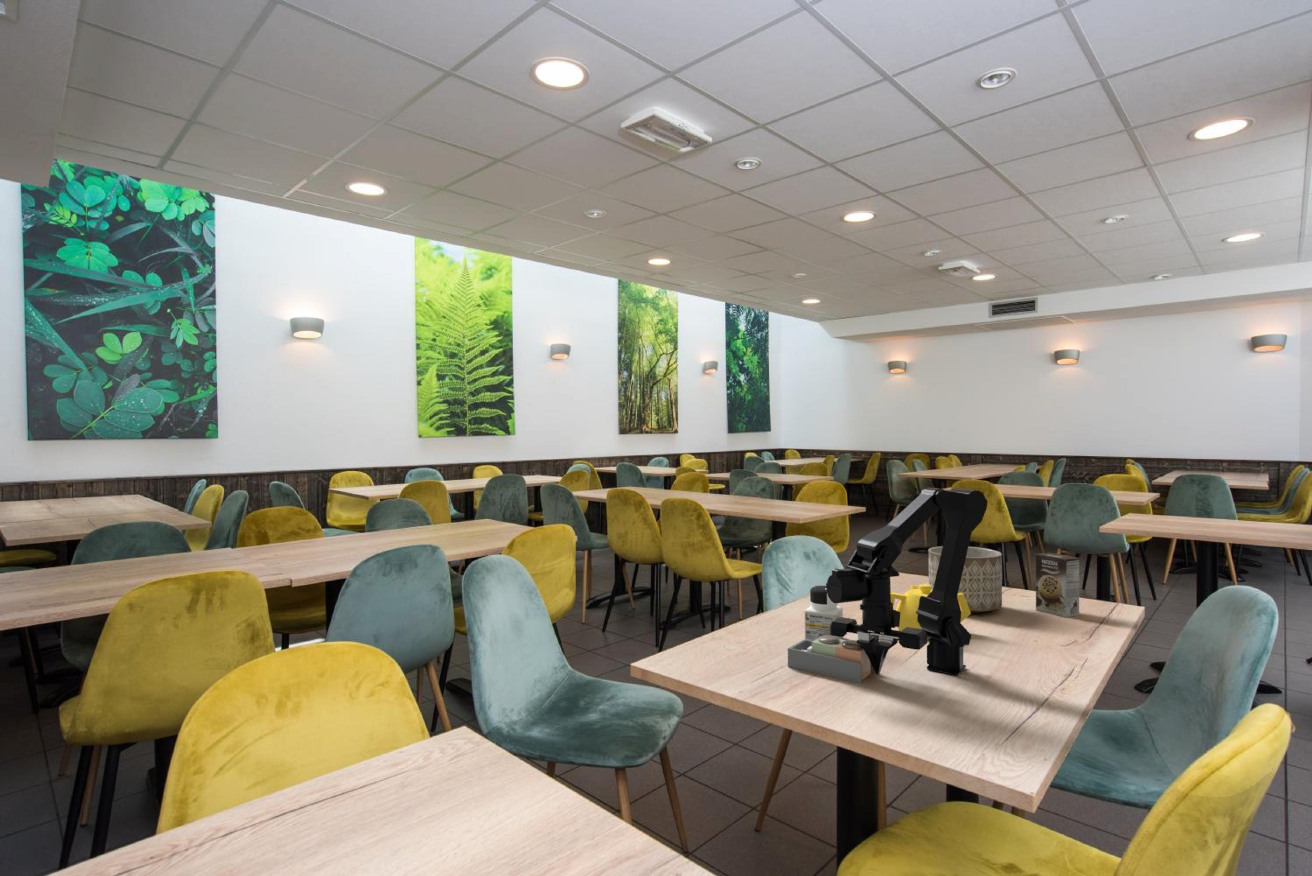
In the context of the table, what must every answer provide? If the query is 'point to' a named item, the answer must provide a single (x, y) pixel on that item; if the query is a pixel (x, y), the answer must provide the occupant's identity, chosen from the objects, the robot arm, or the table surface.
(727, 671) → the table surface
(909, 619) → the teapot
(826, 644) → the sage jar
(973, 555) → the planter
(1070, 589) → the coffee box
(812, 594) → the container
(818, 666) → the lane
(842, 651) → the orange block with dome
